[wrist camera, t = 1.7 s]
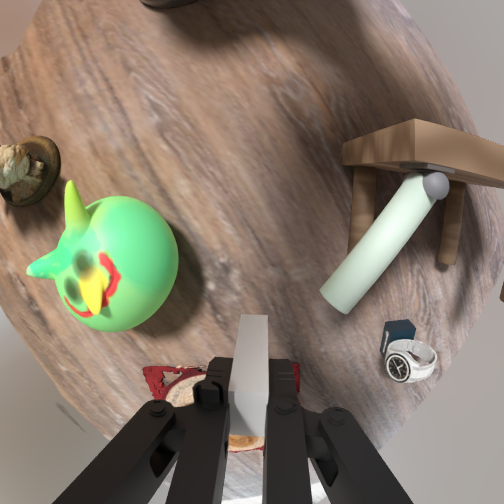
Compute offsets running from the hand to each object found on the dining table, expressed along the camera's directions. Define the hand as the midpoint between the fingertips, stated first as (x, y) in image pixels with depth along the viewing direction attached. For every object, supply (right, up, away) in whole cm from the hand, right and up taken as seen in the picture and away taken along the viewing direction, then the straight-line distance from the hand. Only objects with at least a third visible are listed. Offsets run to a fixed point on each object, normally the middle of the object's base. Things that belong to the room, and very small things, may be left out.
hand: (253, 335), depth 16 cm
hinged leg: (+10, +6, +7) cm, 14 cm away
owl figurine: (-39, +19, +21) cm, 48 cm away
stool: (+22, +12, +21) cm, 32 cm away
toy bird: (-18, +5, +24) cm, 30 cm away
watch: (+23, -9, +26) cm, 36 cm away
